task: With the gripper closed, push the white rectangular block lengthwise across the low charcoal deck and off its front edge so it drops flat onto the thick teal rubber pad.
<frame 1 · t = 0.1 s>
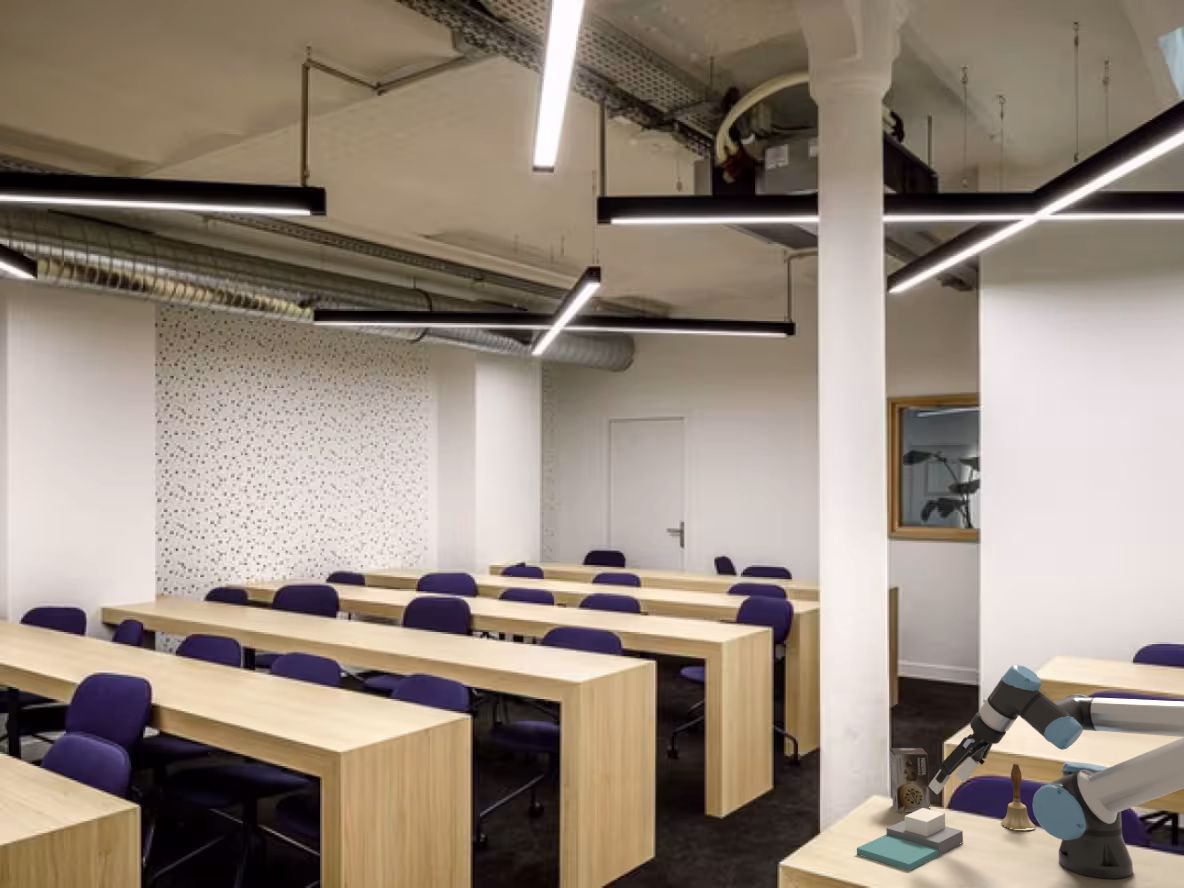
hand: (946, 784, 226), 15 cm above the table, tool tilted 35°, fingers open, 13 cm apart
coffee box: (911, 810, 254), on the table
white rectangular block: (925, 828, 230), point 3 cm above the table, touching deck
deck: (924, 841, 229), on the table
mat: (897, 855, 221), on the table
hand bell: (1018, 826, 239), on the table
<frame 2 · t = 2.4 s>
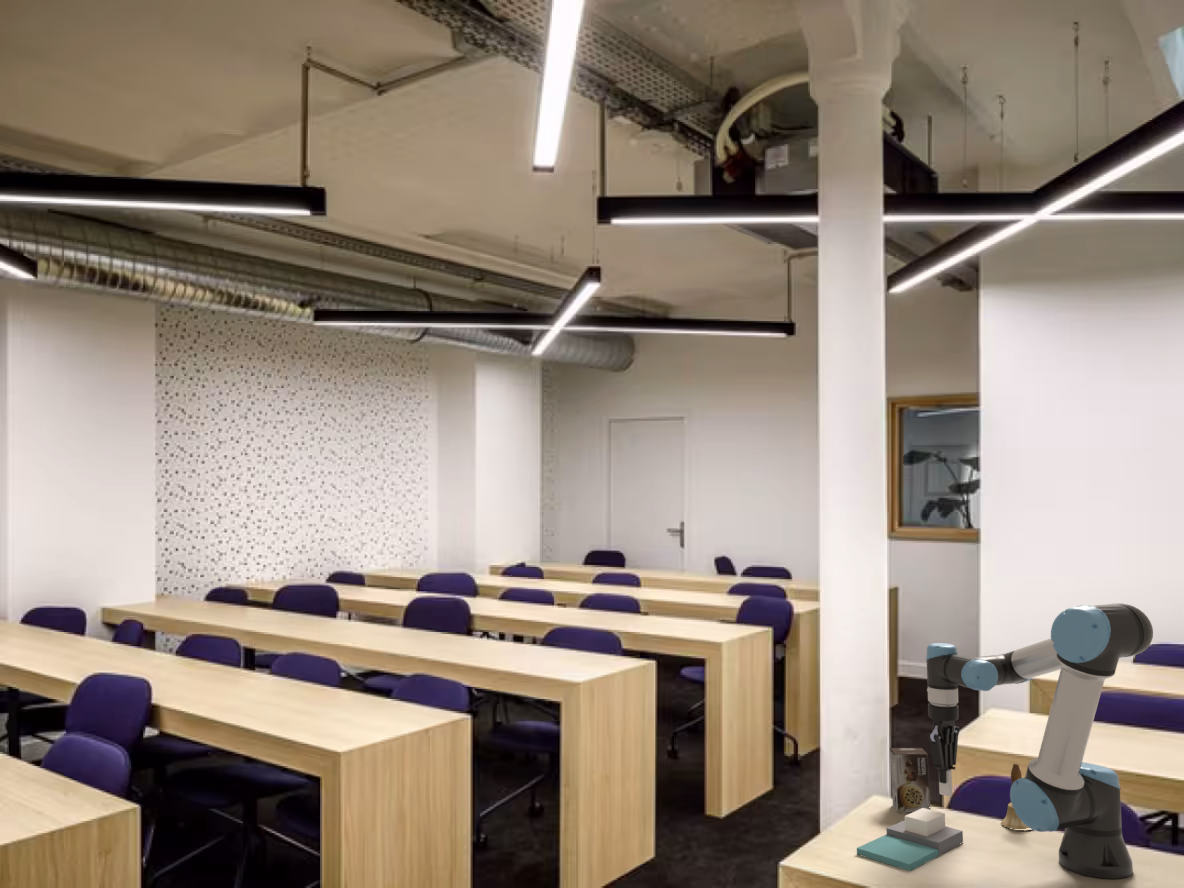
hand: (945, 794, 238), 9 cm above the table, tool pointing down, fingers closed
nothing on the table moved.
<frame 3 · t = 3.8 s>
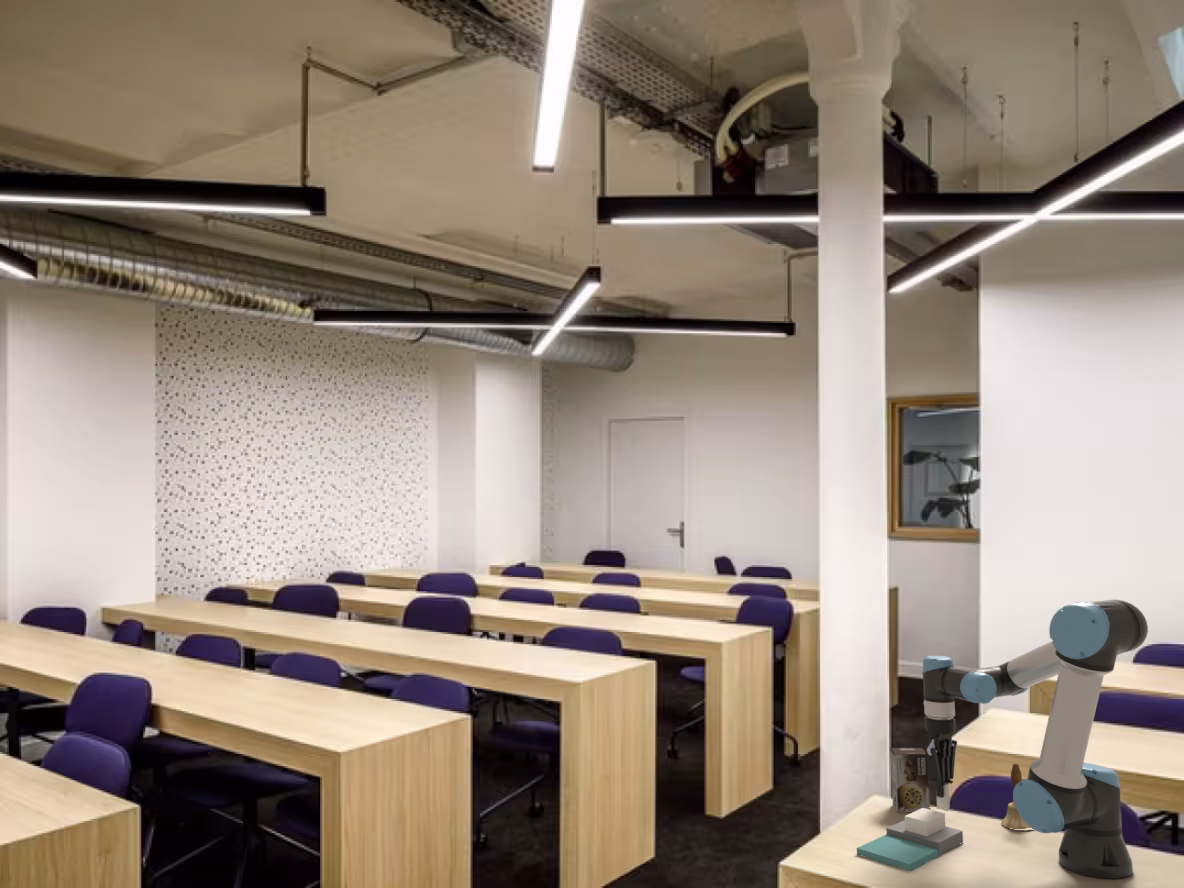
hand: (943, 808, 236), 6 cm above the table, tool pointing down, fingers closed
nothing on the table moved.
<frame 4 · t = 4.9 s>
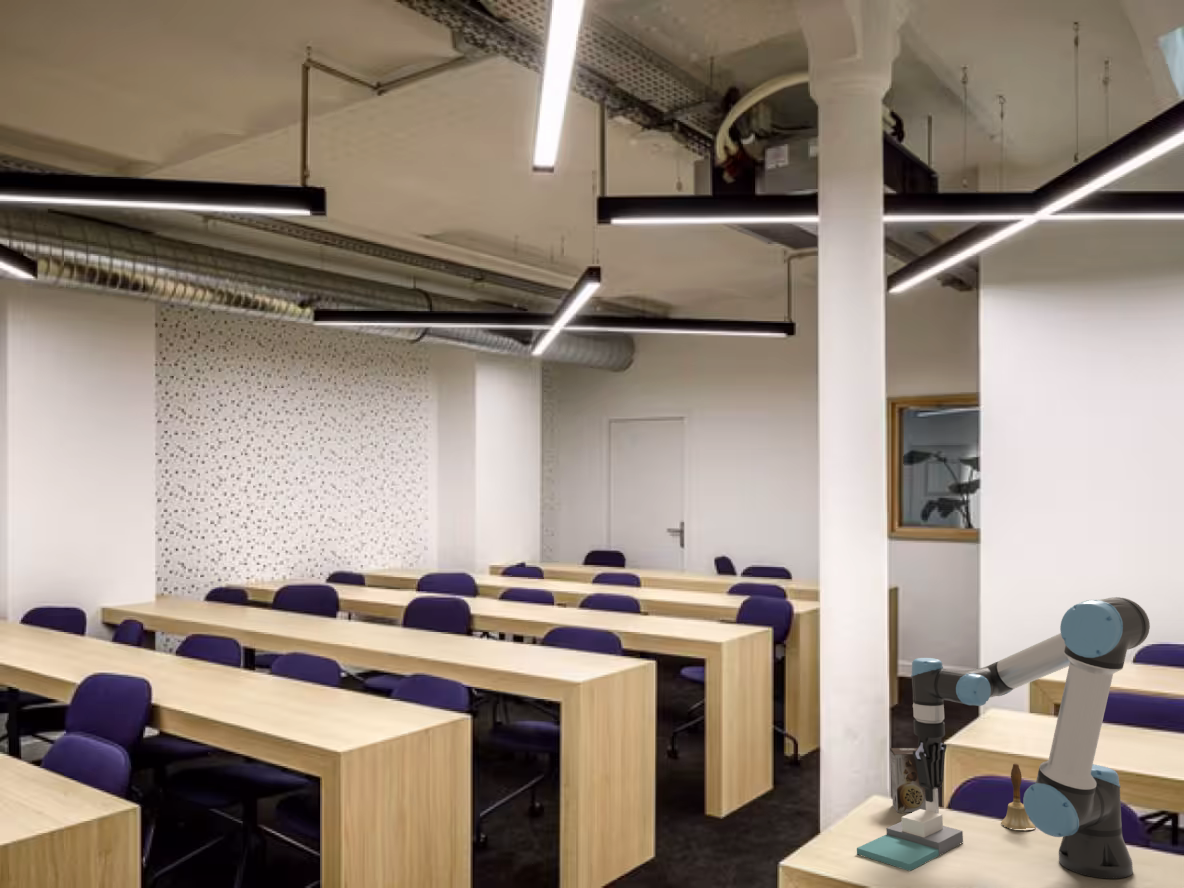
hand: (932, 813, 233), 6 cm above the table, tool pointing down, fingers closed
white rectangular block: (922, 830, 229), point 3 cm above the table, touching gripper
everything else where it was.
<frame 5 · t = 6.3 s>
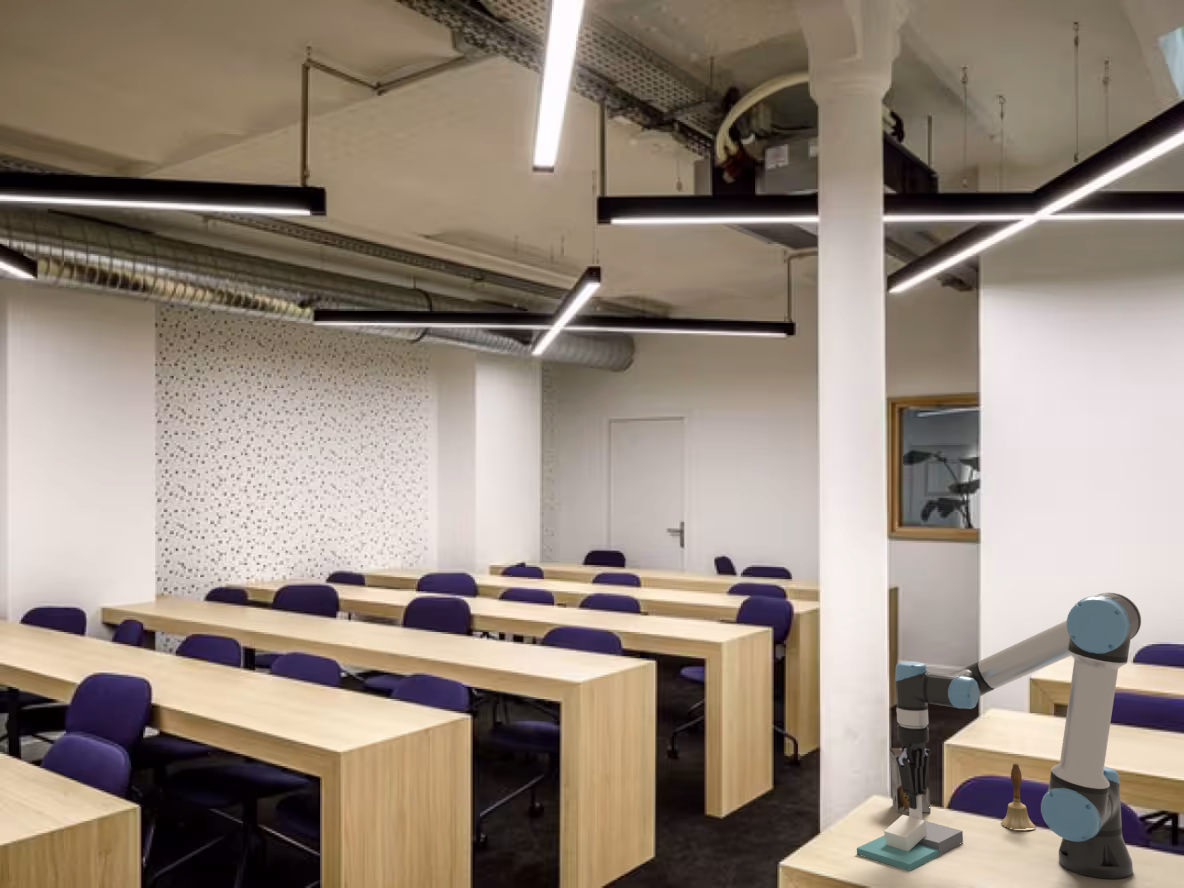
hand: (916, 820, 227), 6 cm above the table, tool pointing down, fingers closed
white rectangular block: (906, 839, 224), point 3 cm above the table, tilted 13°
everything else where it was.
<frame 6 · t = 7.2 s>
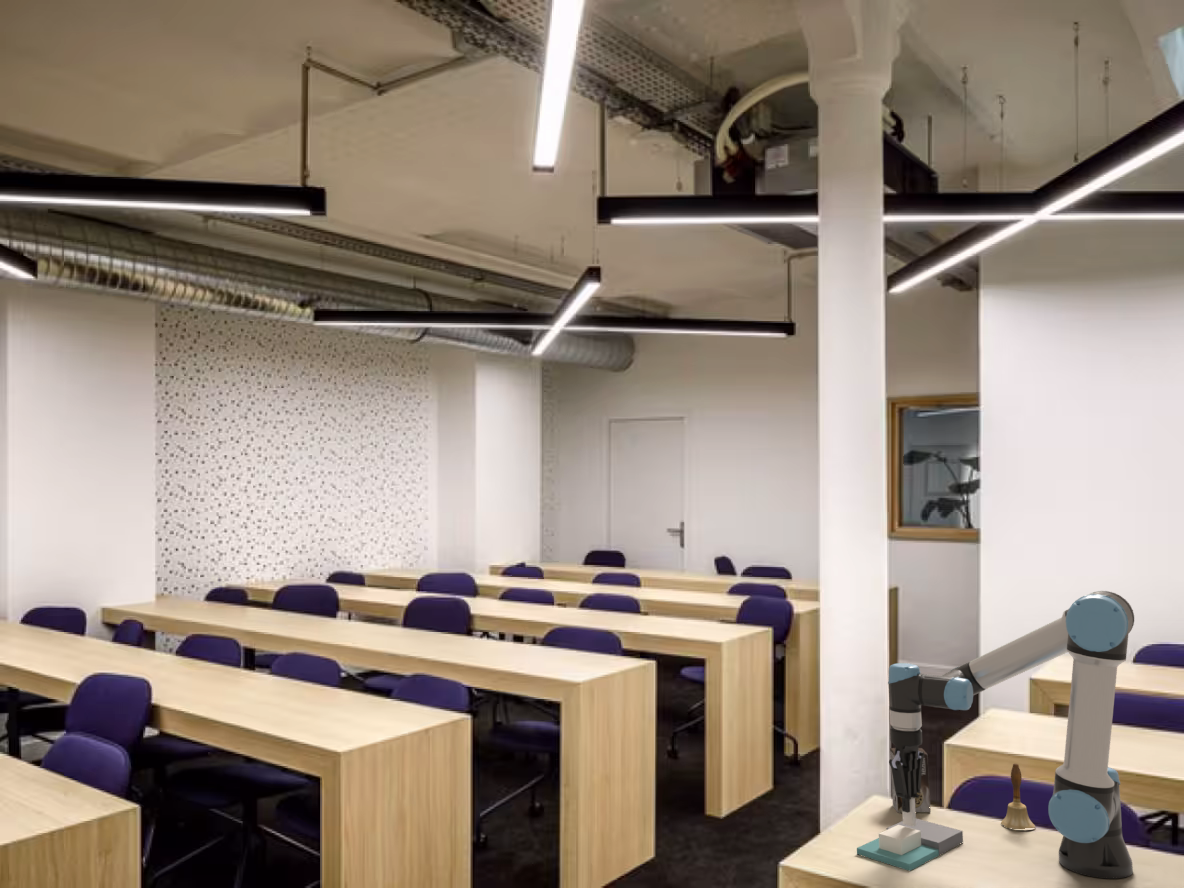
hand: (909, 824, 225), 6 cm above the table, tool pointing down, fingers closed
white rectangular block: (900, 846, 222), point 1 cm above the table, touching mat
everything else where it was.
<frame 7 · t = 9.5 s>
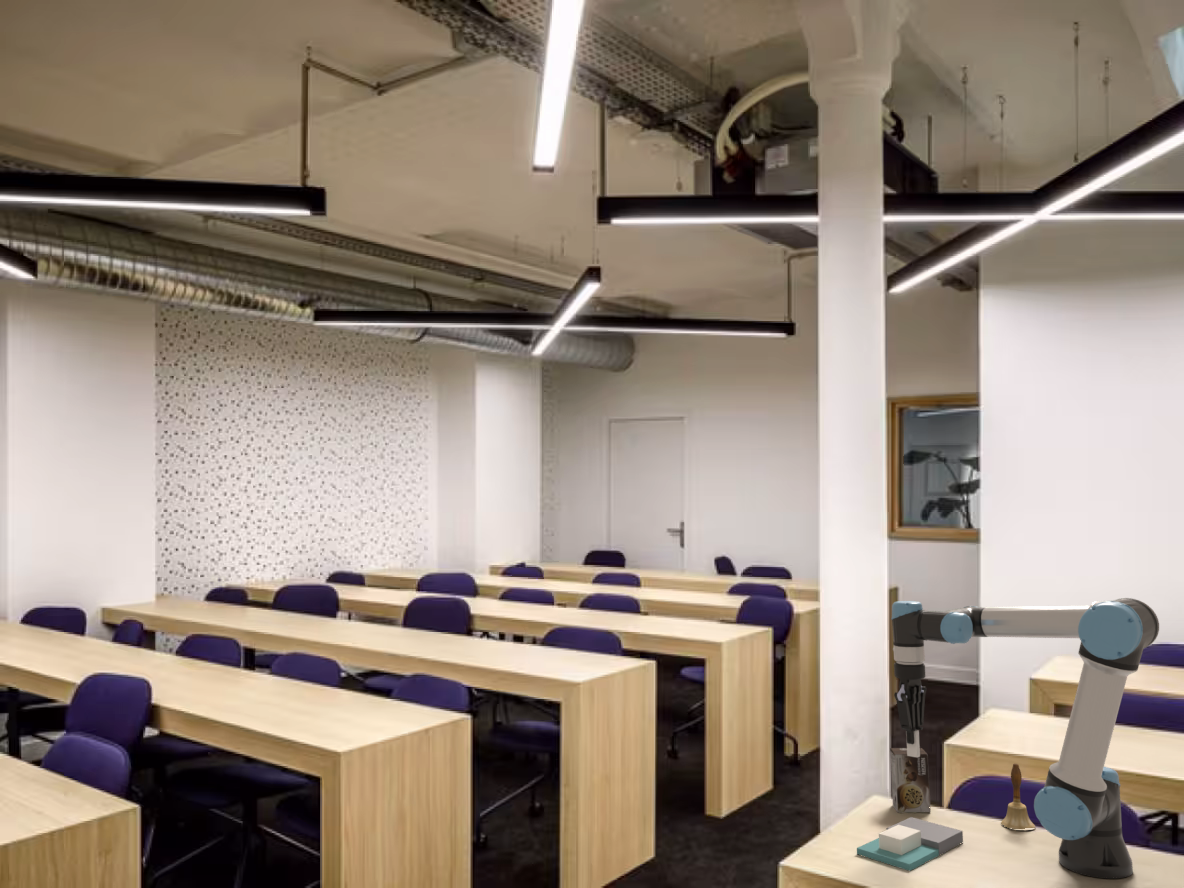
hand: (913, 755, 232), 21 cm above the table, tool pointing down, fingers closed
nothing on the table moved.
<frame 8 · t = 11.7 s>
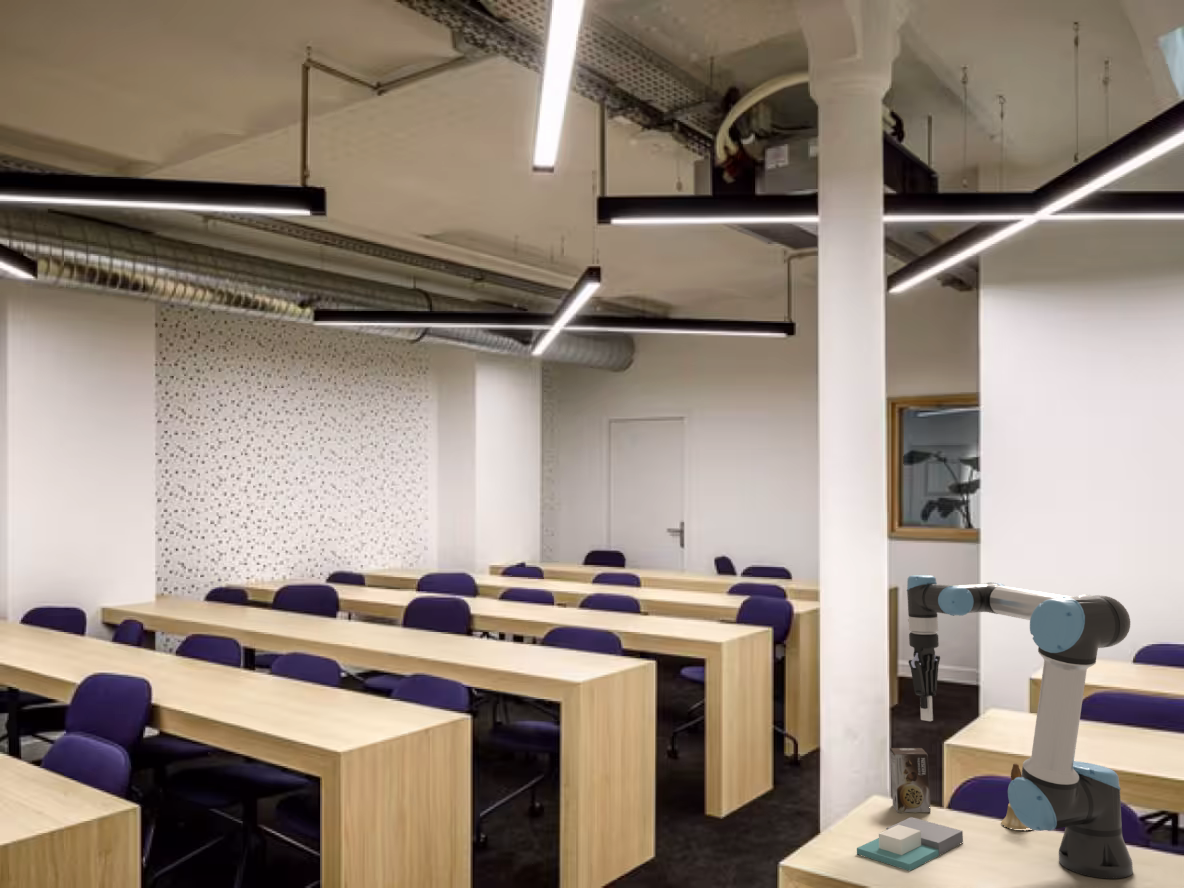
hand: (926, 720, 247), 26 cm above the table, tool pointing down, fingers closed
nothing on the table moved.
at the end: white rectangular block inside the target area (2.2 cm from its centre), point 1.5 cm above the table; white rectangular block tilted 0° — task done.
